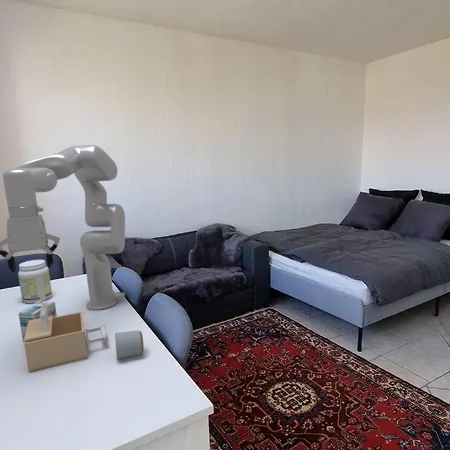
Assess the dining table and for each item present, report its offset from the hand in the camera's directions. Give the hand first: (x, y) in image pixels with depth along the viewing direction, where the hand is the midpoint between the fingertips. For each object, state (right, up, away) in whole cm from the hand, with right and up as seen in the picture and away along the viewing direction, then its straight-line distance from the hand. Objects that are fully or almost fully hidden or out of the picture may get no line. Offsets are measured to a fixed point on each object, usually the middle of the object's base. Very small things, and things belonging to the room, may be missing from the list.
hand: (32, 268), depth 108 cm
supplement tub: (-26, -20, +54) cm, 64 cm away
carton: (+8, -27, +8) cm, 29 cm away
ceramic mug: (+28, -27, +4) cm, 39 cm away
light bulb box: (-7, -26, +19) cm, 33 cm away
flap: (+1, -19, +3) cm, 19 cm away
